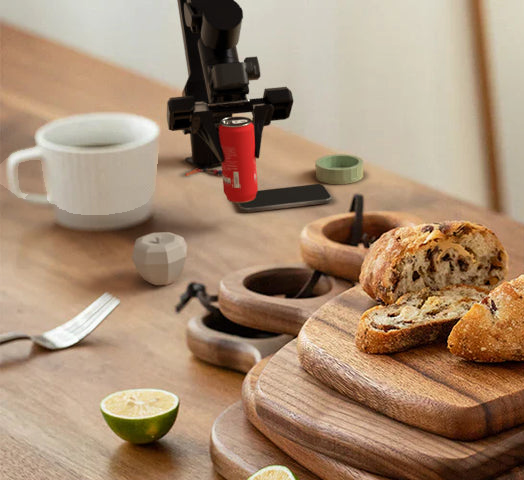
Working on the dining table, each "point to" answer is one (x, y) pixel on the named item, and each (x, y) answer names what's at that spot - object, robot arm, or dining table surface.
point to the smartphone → (287, 198)
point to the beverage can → (238, 159)
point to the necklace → (205, 170)
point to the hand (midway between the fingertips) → (240, 159)
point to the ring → (339, 169)
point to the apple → (160, 257)
